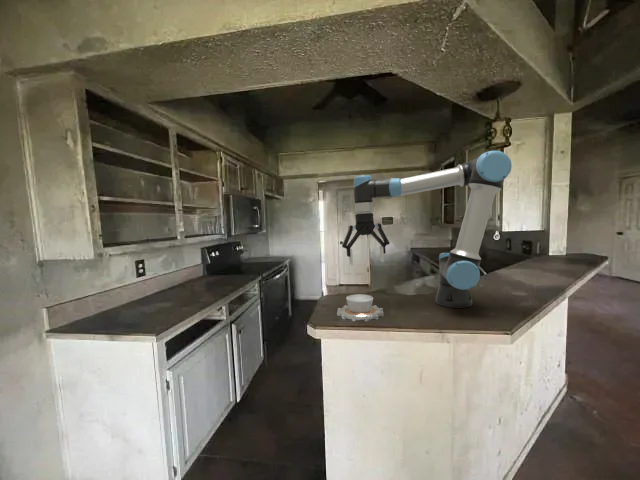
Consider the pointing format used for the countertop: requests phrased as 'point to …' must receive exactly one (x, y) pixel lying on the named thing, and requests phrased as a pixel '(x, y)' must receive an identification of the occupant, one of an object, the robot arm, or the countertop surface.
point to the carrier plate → (360, 314)
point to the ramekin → (359, 303)
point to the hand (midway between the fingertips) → (366, 262)
